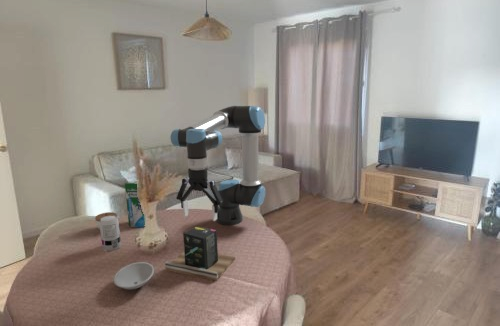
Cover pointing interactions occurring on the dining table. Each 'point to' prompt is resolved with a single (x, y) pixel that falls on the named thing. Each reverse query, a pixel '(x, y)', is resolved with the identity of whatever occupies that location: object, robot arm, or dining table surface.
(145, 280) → the dish
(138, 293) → the dining table surface
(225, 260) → the shelf board
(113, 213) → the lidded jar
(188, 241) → the tampon box
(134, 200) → the milk carton
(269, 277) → the dining table surface
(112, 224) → the supplement can
